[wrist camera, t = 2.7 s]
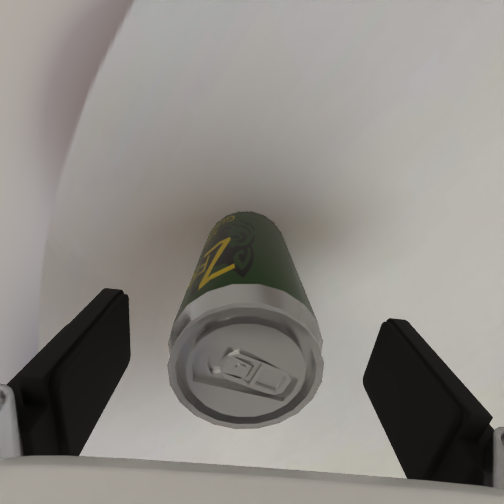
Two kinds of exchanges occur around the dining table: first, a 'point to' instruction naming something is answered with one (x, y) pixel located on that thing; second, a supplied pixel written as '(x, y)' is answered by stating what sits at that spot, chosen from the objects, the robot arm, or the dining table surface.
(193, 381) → the beer can
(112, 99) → the dining table surface
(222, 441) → the dining table surface
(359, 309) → the dining table surface
